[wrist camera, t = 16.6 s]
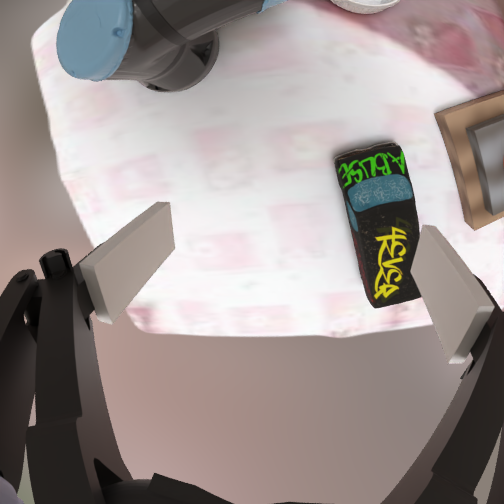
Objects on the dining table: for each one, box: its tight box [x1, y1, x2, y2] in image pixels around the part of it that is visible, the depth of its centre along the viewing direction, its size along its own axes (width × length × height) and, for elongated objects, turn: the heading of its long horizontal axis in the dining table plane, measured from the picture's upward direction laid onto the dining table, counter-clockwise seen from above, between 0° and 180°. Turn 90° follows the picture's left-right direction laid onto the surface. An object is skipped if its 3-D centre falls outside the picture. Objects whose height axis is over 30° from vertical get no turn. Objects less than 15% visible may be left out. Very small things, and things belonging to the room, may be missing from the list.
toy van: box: [333, 141, 422, 308], centre depth 41 cm, size 11×25×10 cm, turn 21°
